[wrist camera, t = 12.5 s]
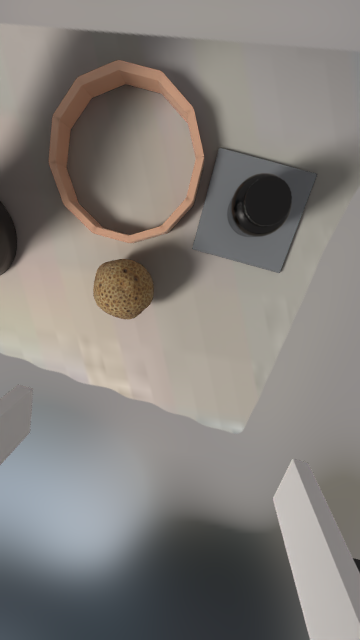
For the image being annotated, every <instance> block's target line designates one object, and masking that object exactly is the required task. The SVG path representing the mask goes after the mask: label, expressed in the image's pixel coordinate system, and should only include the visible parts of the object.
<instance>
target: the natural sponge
mask: <svg viewBox="0 0 360 640" xmlns="http://www.w3.org/2000/svg"><path fill="white" fill-rule="evenodd" d="M93 290H94V298H95V301H96V303H97V305H98V306H99V307H100V308H101V309H102V310H103V311H105V312H106V313H108V314H110V315H112V316H115V317H118V318H122V319H132V318H135V317H136V316H138V315H139V314H140V313H141V312H142V311H143V310H144V309H145V308H147V307H148V306H149V305H150V303H151V301H152V299H153V294H154V287H153V280H152V278H151V276H150V274H149V272H148V271H147V270H146V269H145V268H144V267H143V266H142V265H141V264H139V263H137V262H135V261H133V260H130V259H119V260H114V261H110V262H105V263H103V264H102V265H101V266H100V267H99V268H98V270H97V272H96V276H95V281H94V289H93Z"/></svg>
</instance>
